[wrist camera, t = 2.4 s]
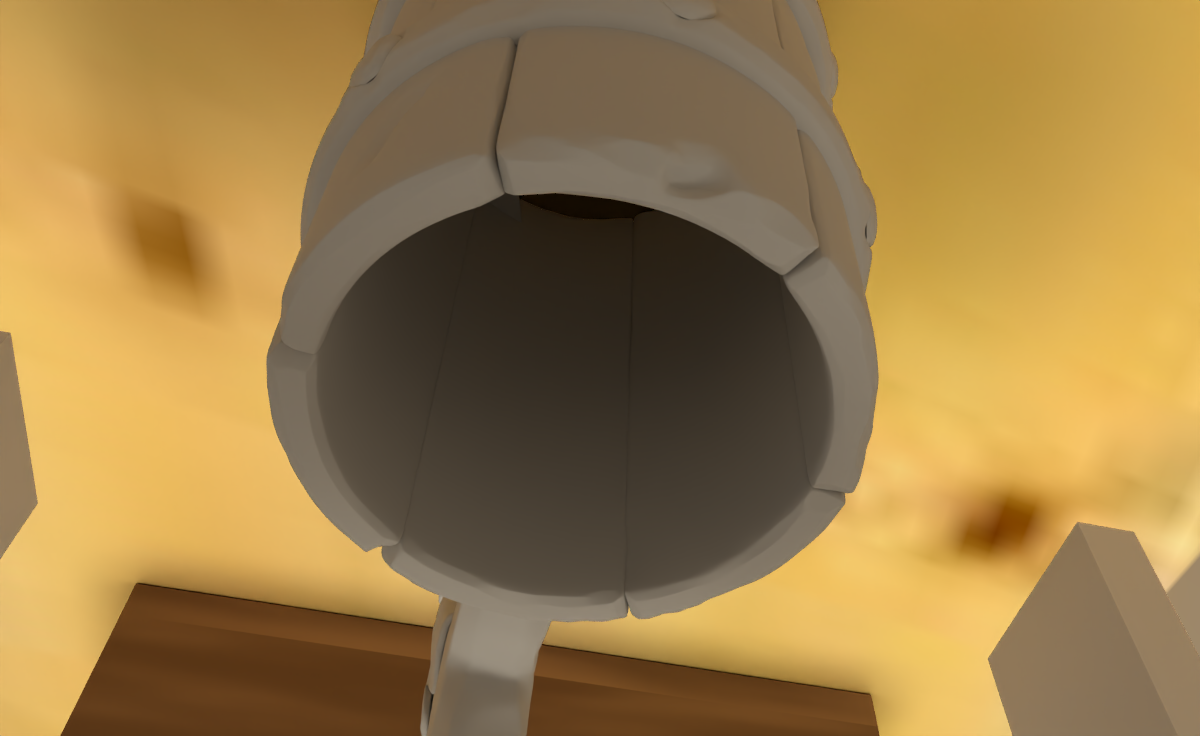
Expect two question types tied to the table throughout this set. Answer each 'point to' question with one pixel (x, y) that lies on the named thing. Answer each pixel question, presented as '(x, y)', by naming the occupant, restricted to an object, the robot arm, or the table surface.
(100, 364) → the table surface
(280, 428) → the mug
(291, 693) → the crate
